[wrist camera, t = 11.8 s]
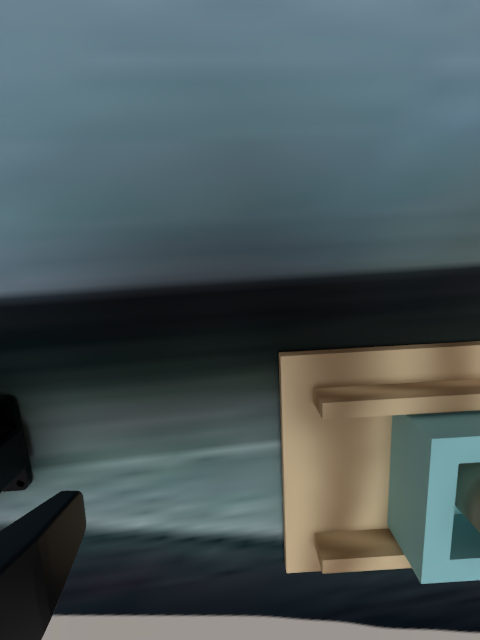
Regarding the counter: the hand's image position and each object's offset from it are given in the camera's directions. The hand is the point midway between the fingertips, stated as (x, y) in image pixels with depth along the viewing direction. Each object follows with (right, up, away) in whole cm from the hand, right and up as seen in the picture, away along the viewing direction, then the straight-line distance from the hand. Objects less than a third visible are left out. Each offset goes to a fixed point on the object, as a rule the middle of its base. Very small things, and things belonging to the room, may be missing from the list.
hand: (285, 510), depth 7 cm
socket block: (+13, -5, +14) cm, 20 cm away
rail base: (+12, -5, +15) cm, 20 cm away
